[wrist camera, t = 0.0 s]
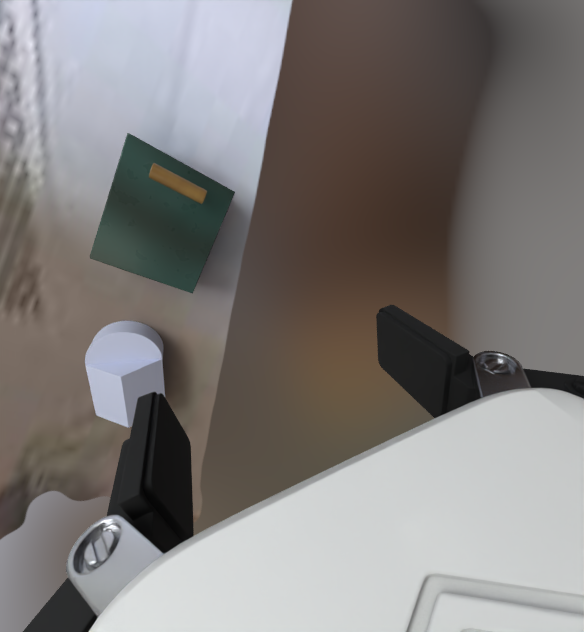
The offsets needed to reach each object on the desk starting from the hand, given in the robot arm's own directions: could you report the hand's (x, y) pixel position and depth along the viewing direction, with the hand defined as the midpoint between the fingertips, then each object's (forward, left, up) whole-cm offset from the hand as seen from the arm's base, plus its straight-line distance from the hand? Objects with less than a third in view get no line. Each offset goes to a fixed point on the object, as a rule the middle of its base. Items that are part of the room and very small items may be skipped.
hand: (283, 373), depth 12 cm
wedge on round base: (+22, -4, -31) cm, 38 cm away
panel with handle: (0, -6, -27) cm, 28 cm away
